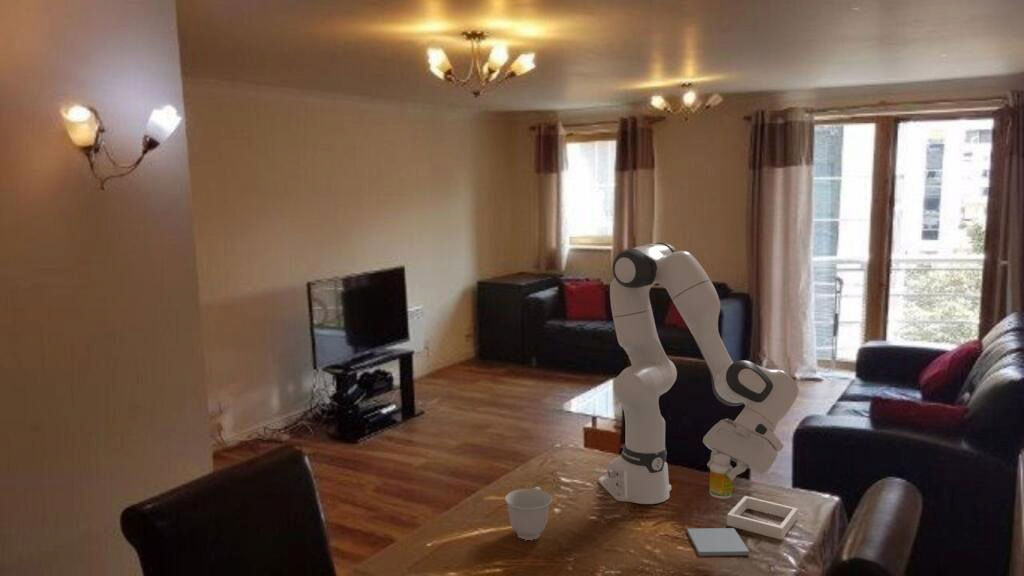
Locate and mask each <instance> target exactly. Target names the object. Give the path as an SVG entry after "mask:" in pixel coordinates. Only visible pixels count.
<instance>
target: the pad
mask: <svg viewBox="0 0 1024 576" xmlns="http://www.w3.org/2000/svg"><path fill="white" fill-rule="evenodd" d="M686 533H687V535H688V537H689V539H690V541H691V543H692V545H693V547H694V546H695V547H694V549H695V551H696V552H697V555H698V556H699V557H700V556H705V557H706V556H707V557H709V556H717V557H718V556H750V550H749V549H748V546H746V544H745V543H744V540H742V538H741V537H740V535H739V533H738V532H737V531H736V529H735V527H731V528H729V527H728V528H727V527H720V528H717V527H714V528H713V527H712V528H710V527H709V528H706V527H705V528H701V527H700V528H686Z"/></svg>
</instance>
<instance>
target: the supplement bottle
mask: <svg viewBox="0 0 1024 576" xmlns="http://www.w3.org/2000/svg"><path fill="white" fill-rule="evenodd" d="M713 462H714V463H712V464H711V466H710V468H709V494H710V495H711V496H712V497H713V498H717V499H730V498H731V497H732V496H733V485H734V484H733V482H734V480H731V479H729V478H728V477H727V476H726V475H725V474H726V472H727V471H728V470H729V469H730V470H732V469H733V468H734V467H733V466H732V465H731V459H730V456H728V455H725V454H715V455H714V456H713Z"/></svg>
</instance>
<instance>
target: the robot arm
mask: <svg viewBox="0 0 1024 576" xmlns="http://www.w3.org/2000/svg"><path fill="white" fill-rule="evenodd" d="M612 274H613V277H614V278H613V279H612V281H611V282H610V285H609V298H610V307H611V315H612V319H613V324H614V328H615V335H616V339H617V342H618V344H619V346H620V347H621V348H623V350H624V351H625V353H626V354H627V356H628V358H629V361H630V363H631V365H629V366H627V367H625V368H624V369H623V370H622V371H621V372H620V373H619V374H618V375H617V377H616V378H615V380H614V383H613V392H614V395H615V397H616V399H618V401H619V402H620V403H621V406H622V409H623V412H624V413H623V414H624V420H625V435H624V436H625V439H624V440H625V443H621V444H620V447H619V449H622V451H621V455H619V456H618V457H615V458H614V459H613V460H611V461H609V463H608V464H607V467H606V474H603V475H602V476H600V477H599V478H598V483H599V484H600V485H601V486H602V487H603V488H604V489H605V490H606V491H607V492H608V493H609V494H610V495H611V497H613V498H614V499H615V500H616V501H618V502H630V503H635V504H640V505H655V504H660V503H663V502H665V501H667V500H669V499H670V497H671V496H670V491H671V490H672V485H671V483H670V482H669V481H670V480H669V468H668V463H667V462H666V461H667V455H668V454H667V453H668V452H667V447H666V420H665V419H664V417H663V416H662V414H661V410H660V405H659V404H660V403H659V401H660V400H659V399H660V397H661V396H662V395H663V394H666V393H667V392H668V391H670V389H671V388H672V387H673V385H674V384H675V382H676V380H677V376H678V371H677V368H676V365H675V364H674V362H673V361H672V360H671V359H670V358H668V356H667V354H666V352H665V350H664V347H663V346H662V345H663V344H662V343H661V340H660V337H659V334H658V331H657V327H656V322H655V317H654V313H653V308H652V304H651V300H650V291H651V289H652V287H653V286H656V287H658V286H659V285H662V287H664V289H666V291H667V293H668V295H669V297H670V299H671V301H672V303H673V304H674V307H676V310H677V312H678V313H679V314H680V316H681V318H682V319H683V321H684V323H685V324H686V326H687V327H688V329H689V332H690V333H691V335H692V337H693V338H694V341H695V344H696V345H697V347H698V349H699V352H700V354H701V355H702V358H703V360H704V361H705V364H706V366H707V368H708V371H709V373H710V377H711V379H710V380H711V386H712V387H711V388H712V392H713V394H714V396H715V398H716V399H717V400H718V401H719V402H720V403H721V404H724V405H725V406H729V407H737V406H741V405H744V408H743V409H742V410H741V411H740V413H739V414H738V415H737V417H736V418H735V420H732V419H731V418H728V417H727V418H723V419H720V420H719V421H718V422H717V423H715V424H714V425H713V426H712V427H711V428H710V430H708V432H707V433H705V435H704V436H703V439H702V444H704V446H705V447H707V448H708V449H709V450H710V452H711V453H710V459H709V460H708V462H707V464H706V465H707V468H709V469H710V466H711V464H712V463H714V462H713V456H714V455H715V454H725V455H728V456H730V461H733V462H734V463H736V466H734V467H733V469H732V470H730V469H729V470H728V471H727V472H726V474H725V475H726V476H727V477H728V478H729V479H731V480H733V481H734V479H735V478H736V477H737V476H738V475H740V474H742V473H744V472H746V470H747V469H749V470H751V471H752V472H755V473H757V474H759V475H763V474H765V473H767V472H768V470H770V468H771V467H772V465H773V464H774V462H775V460H777V459H776V458H777V456H778V452H781V451H782V450H783V448H784V444H783V442H782V441H781V440H780V439H779V438H778V437H777V435H776V434H775V432H774V431H776V429H777V426H778V424H779V422H780V421H781V420H782V419H783V418H785V416H787V414H788V412H789V411H790V410H791V408H792V407H793V405H794V403H795V402H796V400H797V398H798V396H799V395H798V394H799V387H798V384H797V381H796V380H795V379H794V378H793V377H792V376H791V375H790V374H789V373H788V372H785V371H784V370H783V369H782V370H781V369H772V368H767V367H763V366H761V365H758V364H757V363H754V362H752V361H750V360H744V359H743V360H737V361H733V360H732V358H731V356H730V354H729V352H728V350H727V348H726V346H725V344H724V342H723V339H722V337H721V335H720V332H719V317H720V313H721V312H720V311H721V301H720V298H719V295H718V291H717V290H716V287H715V286H714V284H713V282H712V280H711V279H710V277H709V276H708V274H707V272H706V271H705V269H704V268H703V267H702V265H701V264H700V263H699V262H698V260H697V259H696V258H695V256H694V255H693V254H691V252H689V251H686V250H677V249H676V247H674V246H673V245H671V244H669V243H666V242H655V243H645V244H640V245H639V246H636V247H633V248H628V249H625V250H623V251H621V252H620V253H619V254H617V255H616V257H615V258H614V260H613V262H612Z"/></svg>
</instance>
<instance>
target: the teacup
mask: <svg viewBox="0 0 1024 576" xmlns="http://www.w3.org/2000/svg"><path fill="white" fill-rule="evenodd" d="M504 501H505V503H506V504H507V509H508V516H509V517H508V518H509V523H510V526H511V528H512V530H513V531H514V532H515V533H517V534H516V535H518V536H517V537H518V538H519V537H520V538H522V539H525V540H524V541H527V540H531V541H534V540H533V539H535V540H538V539H539V538H540V537H539V536H541V533H542V532H543V531H544V530H545V529H546V527H547V523H548V516H549V511H550V505H551V503H553V497H552V495H551V494H550V493H548V492H547V491H544V490H543V489H541V487H540V486H535V487H534V488H520V489H519V488H518V489H515V490H512V491H510V492H509V493H507V494H506V495H505V497H504ZM520 538H519V539H520ZM522 539H521V540H522Z"/></svg>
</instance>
